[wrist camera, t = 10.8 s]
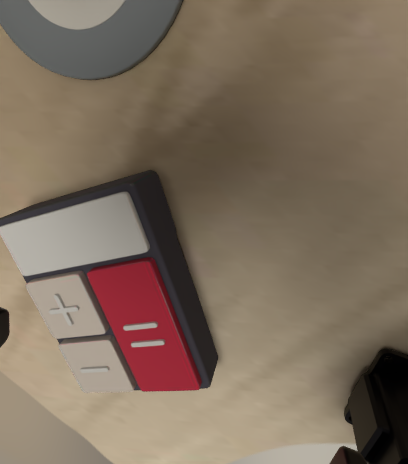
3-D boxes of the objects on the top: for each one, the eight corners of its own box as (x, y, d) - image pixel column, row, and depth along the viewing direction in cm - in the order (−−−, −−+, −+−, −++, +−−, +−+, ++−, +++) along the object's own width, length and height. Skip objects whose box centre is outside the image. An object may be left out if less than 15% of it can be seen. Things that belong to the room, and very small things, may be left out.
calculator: (78, 400, 25) (-19, 224, 20) (107, 360, 28) (31, 205, 24) (209, 398, 21) (125, 183, 16) (222, 352, 25) (157, 167, 20)
